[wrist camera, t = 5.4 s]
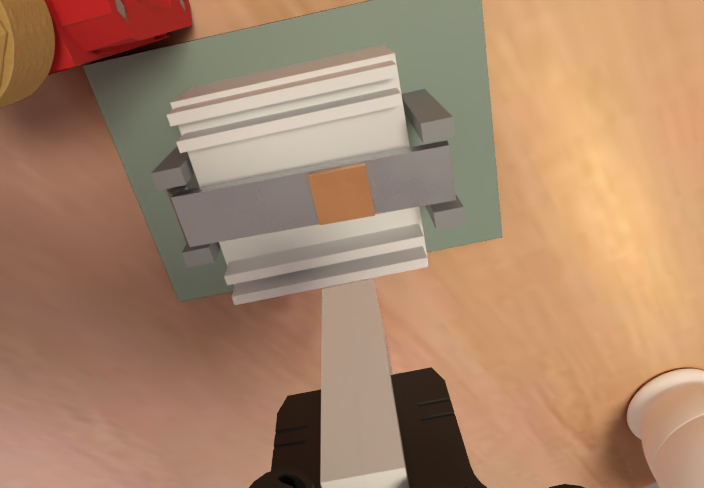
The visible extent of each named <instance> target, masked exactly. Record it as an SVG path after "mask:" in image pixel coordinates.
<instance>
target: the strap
mask: <svg viewBox="0 0 704 488" xmlns="http://www.w3.org/2000/svg"><path fill="white" fill-rule="evenodd" d="M166 191H167V193H168V196H169V199H170V201H171V204H172V207H173V209H174V212H175V214H176V217H177V220H178V222H179V225H180V228H181V230H182V233H183V235H184V238H185V241H186V243H187V245H188V246H189V247H194V246H199V245H205V244H211V243H216V242H222V241H228V240H233V239H239V238H245V237H250V236H256V235H262V234H267V233H273V232H279V231H284V230H290V229H295V228H301V227H307V226H312V225H318V224H320V225H325V224H331V223H336V222H342V221H348V220H353V219H359V218H365V217H370V216H375V214H380V213H386V212H392V211H397V210H403V209H409V208H414V207H420V206H426V205H431V204H437V203H442V202H448V201H454V200H456V194H455V186H454V178H453V170H452V162H451V154H450V146H449V143H448V141H447V140H446V141H440V142H435V143H430V144H425V145H419V146H414V147H409V148H404V149H398V150H393V151H388V152H383V153H377V154H372V155H367V156H361V157H356V158H351V159H346V160H340V161H335V162H330V163H325V164H319V165H314V166H309V167H304V168H298V169H293V170H288V171H283V172H277V173H272V174H267V175H262V176H256V177H251V178H246V179H240V180H235V181H230V182H225V183H219V184H214V185H209V186H204V187H198V188H193V189H190V188H189V185H188V183H187V184H186V185H183V186H178V187H174V188H169V189H166Z"/></svg>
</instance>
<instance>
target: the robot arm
mask: <svg viewBox="0 0 704 488" xmlns="http://www.w3.org/2000/svg"><path fill="white" fill-rule="evenodd" d="M249 488H487V487H486V486H484V485H483V484H482V483H481V482H480V481H479V480H478V479H477V477H476V476H475V475H474V473H473V470H472V468H471V466H470V463H469V459H468V456H467V453H466V449H465V446H464V443H463V440H462V436H461V433H460V430H459V426H458V423H457V420H456V416H455V414H454V410H453V407H452V403H451V401H450V397H449V393H448V390H447V387H446V384H445V380H444V379H443V378H442V377H441V376H440V375H439V374H438V373H437V372H436V371H435V370H434V369H433V368H432V367H431V368H426V369H421V370H415V371H410V372H405V373H399V374H394V375H393V373H392V367H391V361H390V355H389V350H388V346H387V341H386V336H385V331H384V327H383V322H382V317H381V312H380V308H379V303H378V298H377V293H376V289H375V284H374V279H370V280H365V281H360V282H355V283H350V284H345V285H340V286H335V287H330V288H324V289H322V358H321V390H316V391H311V392H306V393H301V394H295V395H290V396H287V398H286V400H285V401H284V403H283V405H282V406H281V408H280V410H279V411H278V413H277V422H276V435H275V440H274V450H273V458H272V467H271V472H268V473H266V474H264V475H263V476H261V477H260V478H258V479H257V480H256V481H254V482H253V483H252V485H251V486H250V487H249ZM549 488H584V487H582V486H577V485H568V484H562V485H558V486H553V487H549Z"/></svg>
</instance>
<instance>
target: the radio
mask: <svg viewBox="0 0 704 488" xmlns="http://www.w3.org/2000/svg"><path fill="white" fill-rule="evenodd" d="M188 26H192V23H191V13H190V5H189V2H188V0H0V108H2V107H4V106H7V105H11V104H13V103H16V102H18V101H21V100H23V99H25V98H26V97H28V96H30V95H31V94H32V93H34V92H35V91H36V90H37V89H38V88H39V87H40V86H41V84H42V83H43V82H44V80H45V79H46V77H47V75H50V74H53V73H56V72H59V71H63V70H66V69H69V68H72V67H76V66H79V65H82V64H86V63H89V62H92V61H95V60H98V59H101V58H105V57H108V56H111V55H114V54H118V53H121V52H124V51H127V50H131V49H134V48H137V47H140V46H144V45H147V44H150V43H153V42H156V41H160V40H163V39H166V38H168V36H167V35H166V33H168V32H171V31H175V30H178V29H181V28H185V27H188Z"/></svg>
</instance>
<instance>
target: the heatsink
mask: <svg viewBox="0 0 704 488" xmlns="http://www.w3.org/2000/svg"><path fill="white" fill-rule="evenodd" d="M83 69H84V71H85V73H86V76H87V78H88V81H89V83H90V86H91V88H92V91H93V93H94V95H95V98H96V100H97V103H98V105H99V108H100V110H101V112H102V115H103V117H104V120H105V122H106V125H107V127H108V130H109V132H110V134H111V137H112V139H113V142H114V144H115V147H116V149H117V151H118V154H119V156H120V159H121V161H122V164H123V166H124V169H125V171H126V173H127V176H128V178H129V181H130V183H131V186H132V188H133V190H134V193H135V195H136V198H137V200H138V203H139V205H140V208H141V210H142V212H143V215H144V217H145V220H146V222H147V225H148V227H149V230H150V232H151V234H152V237H153V239H154V242H155V244H156V247H157V249H158V251H159V254H160V256H161V259H162V261H163V264H164V266H165V269H166V271H167V273H168V276H169V278H170V281H171V283H172V286H173V288H174V290H175V293H176V295H177V298H178V300H179V302H184V301H189V300H194V299H198V298H203V297H208V296H213V295H218V294H223V293H228V292H233V293H232V300H233V303H234V305H239V304H244V303H249V302H254V301H259V300H264V299H269V298H274V297H279V296H284V295H289V294H294V293H299V292H304V291H309V290H314V289H319V288H324V287H329V286H334V285H339V284H344V283H349V282H354V281H359V280H364V279H369V278H374V277H379V276H384V275H389V274H394V273H399V272H404V271H409V270H414V269H419V268H424V267H429V266H428V260H427V252H432V251H437V250H442V249H447V248H452V247H457V246H462V245H467V244H472V243H477V242H482V241H487V240H492V239H497V238H502V227H501V215H500V204H499V193H498V181H497V170H496V158H495V147H494V136H493V124H492V113H491V101H490V90H489V79H488V67H487V56H486V44H485V33H484V22H483V10H482V0H369V1H365V2H360V3H356V4H351V5H347V6H343V7H338V8H334V9H329V10H325V11H321V12H316V13H312V14H307V15H303V16H298V17H294V18H290V19H285V20H281V21H276V22H272V23H267V24H263V25H259V26H254V27H250V28H245V29H241V30H237V31H232V32H228V33H223V34H219V35H214V36H210V37H206V38H201V39H197V40H192V41H188V42H183V43H179V44H175V45H170V46H166V47H161V48H157V49H152V50H148V51H144V52H139V53H135V54H130V55H126V56H122V57H117V58H113V59H108V60H104V61H99V62H95V63H91V64H87V65H84V66H83ZM446 140H447V141H448V143H449V146H450V154H451V162H452V170H453V178H454V186H455V194H456V200H454V201H448V202H442V203H437V204H431V205H426V206H420V207H414V208H409V209H403V210H397V211H392V212H386V213H380V214H375V216H370V217H365V218H359V219H353V220H348V221H342V222H336V223H331V224H325V225H320V224H318V225H312V226H307V227H301V228H295V229H290V230H284V231H279V232H273V233H267V234H262V235H256V236H250V237H245V238H239V239H233V240H228V241H222V242H216V243H211V244H205V245H199V246H194V247H189V246H188V245H187V243H186V241H185V238H184V235H183V233H182V230H181V228H180V225H179V222H178V220H177V217H176V214H175V212H174V209H173V207H172V204H171V201H170V199H169V196H168V193H167V191H166V189H169V188H174V187H178V186H183V185H186V184H187V183H188V185H189V188H190V189H193V188H198V187H204V186H209V185H214V184H219V183H225V182H230V181H235V180H240V179H246V178H251V177H256V176H262V175H267V174H272V173H277V172H283V171H288V170H293V169H298V168H304V167H309V166H314V165H319V164H325V163H330V162H335V161H340V160H346V159H351V158H356V157H361V156H367V155H372V154H377V153H383V152H388V151H393V150H398V149H404V148H409V147H414V146H419V145H425V144H430V143H435V142H440V141H446Z"/></svg>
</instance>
